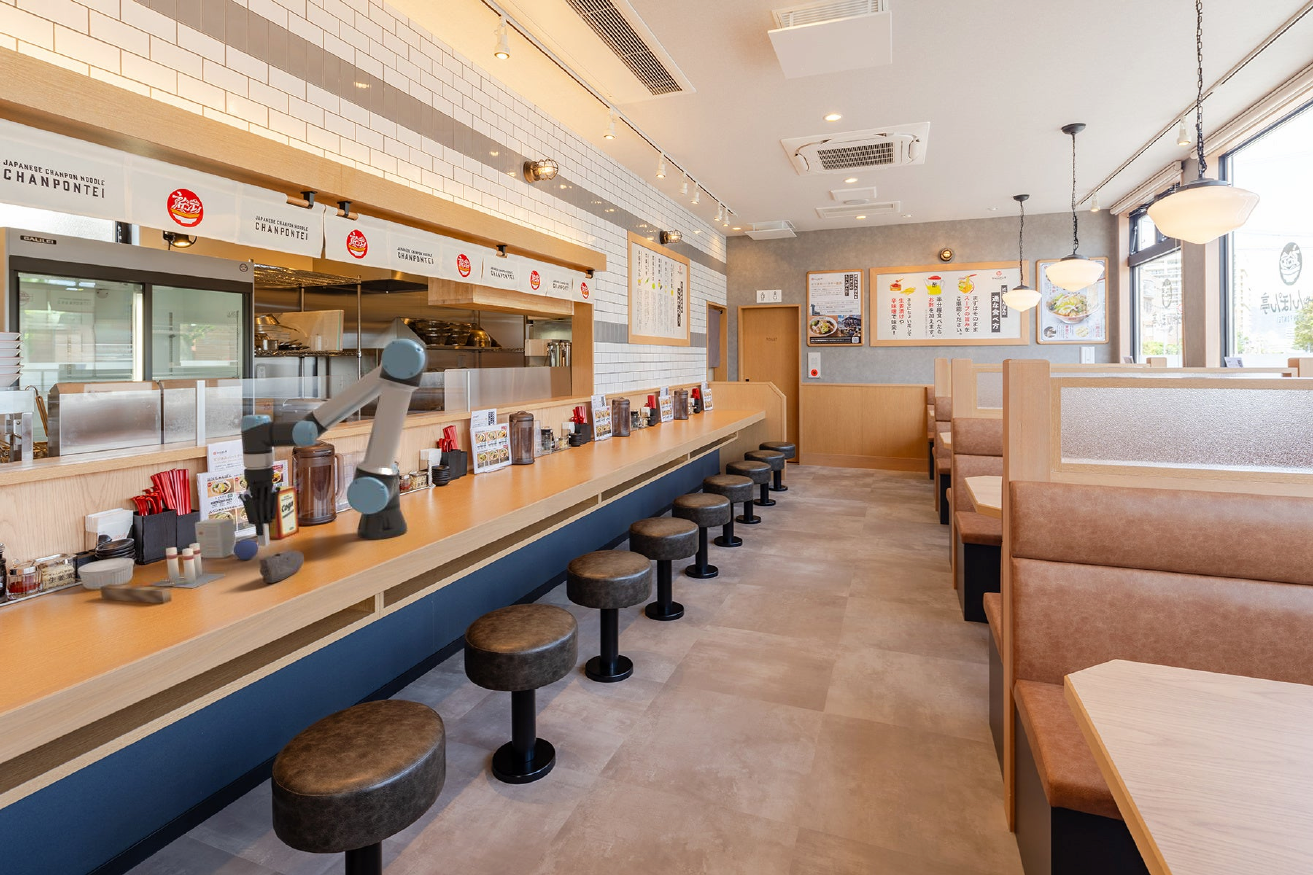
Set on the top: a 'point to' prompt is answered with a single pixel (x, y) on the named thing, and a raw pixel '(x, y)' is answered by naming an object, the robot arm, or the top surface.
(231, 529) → the small box
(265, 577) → the perforated stone tool
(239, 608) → the top surface
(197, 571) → the pin front
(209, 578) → the pin deck mark
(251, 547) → the ball
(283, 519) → the baking soda box
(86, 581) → the ramekin
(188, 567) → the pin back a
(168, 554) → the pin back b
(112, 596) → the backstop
